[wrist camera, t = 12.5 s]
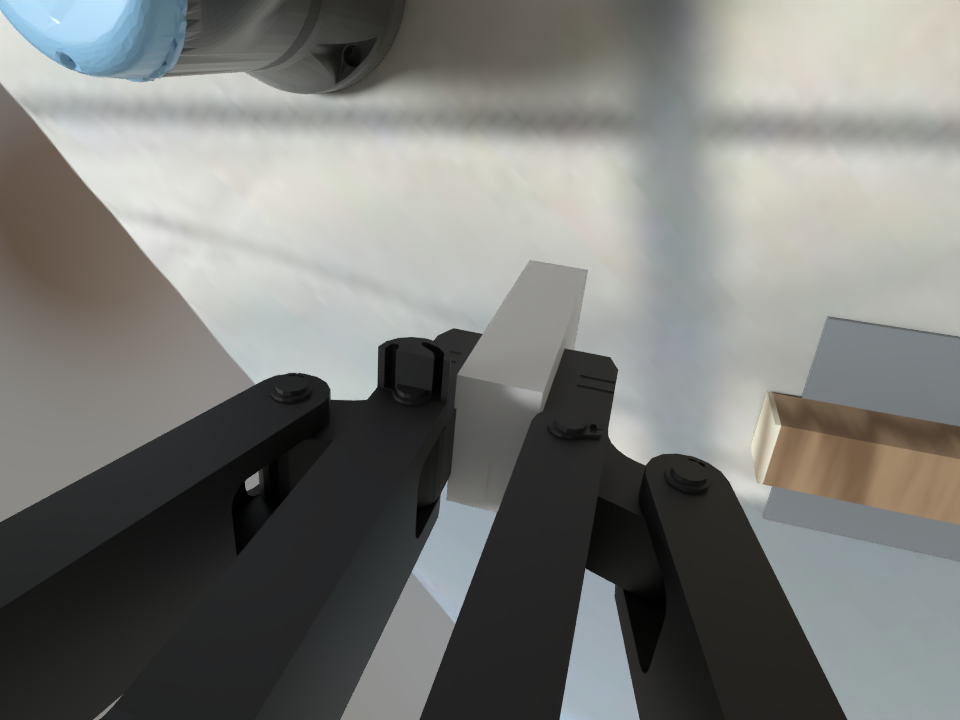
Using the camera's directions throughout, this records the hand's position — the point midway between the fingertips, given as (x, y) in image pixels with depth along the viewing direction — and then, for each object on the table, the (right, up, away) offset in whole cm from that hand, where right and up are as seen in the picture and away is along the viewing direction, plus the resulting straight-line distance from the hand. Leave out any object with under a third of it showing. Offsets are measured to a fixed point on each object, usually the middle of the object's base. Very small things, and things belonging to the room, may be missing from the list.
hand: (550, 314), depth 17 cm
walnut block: (+19, -7, +32) cm, 38 cm away
